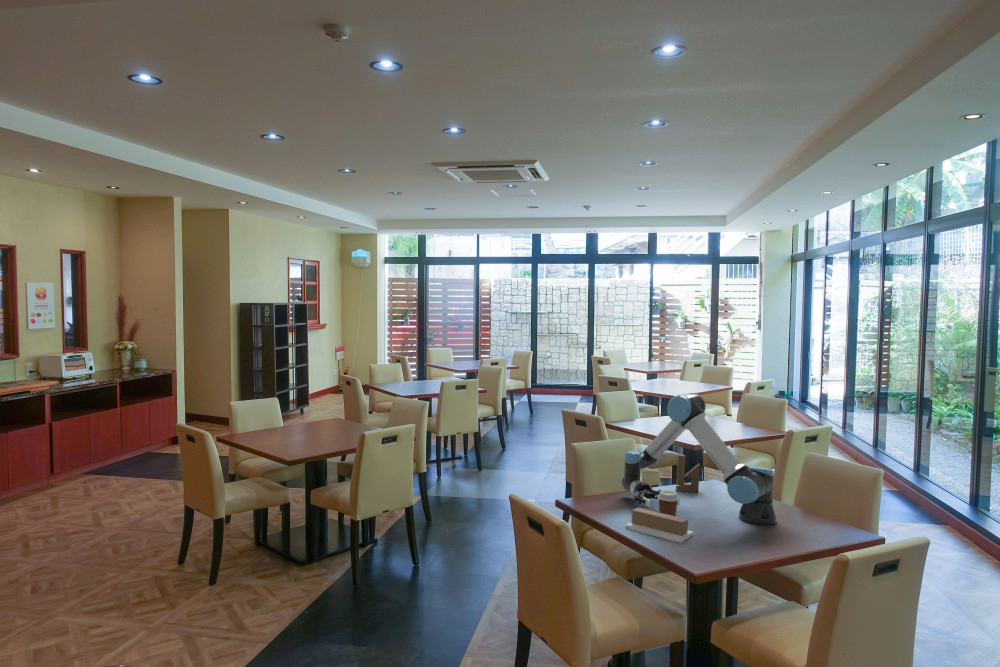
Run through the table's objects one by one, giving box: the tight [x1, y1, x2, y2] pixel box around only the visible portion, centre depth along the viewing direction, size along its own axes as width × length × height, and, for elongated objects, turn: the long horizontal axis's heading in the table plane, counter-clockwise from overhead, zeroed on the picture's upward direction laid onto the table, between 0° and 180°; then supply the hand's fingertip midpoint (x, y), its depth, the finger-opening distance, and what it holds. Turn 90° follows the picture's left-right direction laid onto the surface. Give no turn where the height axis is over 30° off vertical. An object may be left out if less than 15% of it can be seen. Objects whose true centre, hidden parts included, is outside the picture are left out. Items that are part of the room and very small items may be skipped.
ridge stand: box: [624, 507, 694, 544], centre depth 263 cm, size 24×12×7 cm, turn 50°
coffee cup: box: [657, 490, 680, 517], centre depth 278 cm, size 9×9×12 cm
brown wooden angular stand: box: [675, 454, 700, 494], centre depth 327 cm, size 4×11×18 cm, turn 76°
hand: (664, 503), depth 280 cm, fingers open, 13 cm apart
